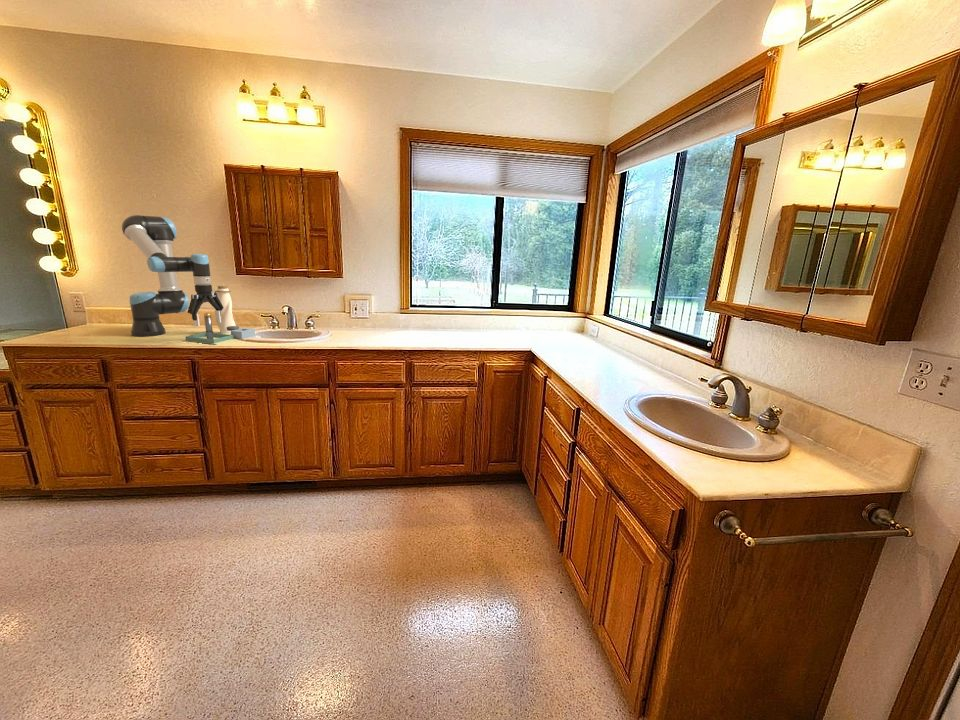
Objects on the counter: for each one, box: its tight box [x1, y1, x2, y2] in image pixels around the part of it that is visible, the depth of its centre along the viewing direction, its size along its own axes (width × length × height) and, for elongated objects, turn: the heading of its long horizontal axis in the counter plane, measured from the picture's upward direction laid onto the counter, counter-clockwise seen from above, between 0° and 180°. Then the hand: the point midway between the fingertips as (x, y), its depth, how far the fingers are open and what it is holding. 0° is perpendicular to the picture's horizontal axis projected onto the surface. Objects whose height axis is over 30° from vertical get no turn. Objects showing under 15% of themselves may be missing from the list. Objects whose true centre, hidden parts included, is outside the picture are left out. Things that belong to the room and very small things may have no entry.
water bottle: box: [212, 285, 237, 335], centre depth 236 cm, size 10×9×28 cm
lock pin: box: [203, 312, 215, 339], centre depth 219 cm, size 3×3×14 cm
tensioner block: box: [227, 325, 256, 340], centre depth 231 cm, size 14×10×6 cm
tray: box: [184, 331, 235, 346], centre depth 221 cm, size 18×13×3 cm
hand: (208, 324), depth 219 cm, fingers open, 13 cm apart
